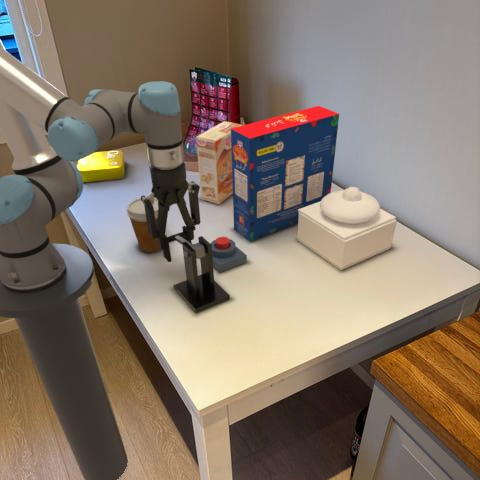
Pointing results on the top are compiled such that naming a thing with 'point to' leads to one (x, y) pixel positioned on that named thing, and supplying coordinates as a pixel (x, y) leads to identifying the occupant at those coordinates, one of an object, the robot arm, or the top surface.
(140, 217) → the disposable coffee cup
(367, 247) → the white domed box
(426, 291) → the top surface
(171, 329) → the top surface
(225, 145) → the coffeecake box
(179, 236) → the lever
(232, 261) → the button box
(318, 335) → the top surface
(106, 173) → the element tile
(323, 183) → the blue cereal box
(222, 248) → the button
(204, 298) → the bracket
